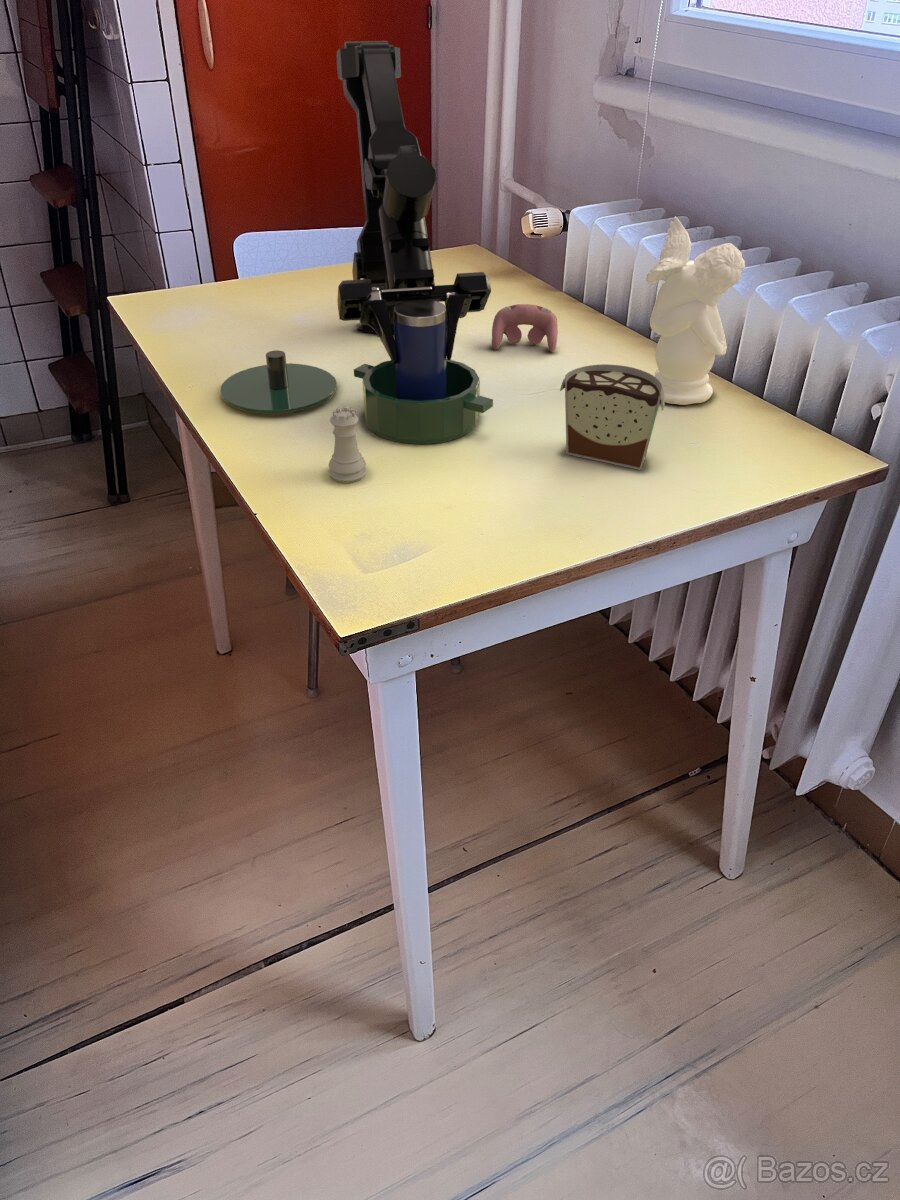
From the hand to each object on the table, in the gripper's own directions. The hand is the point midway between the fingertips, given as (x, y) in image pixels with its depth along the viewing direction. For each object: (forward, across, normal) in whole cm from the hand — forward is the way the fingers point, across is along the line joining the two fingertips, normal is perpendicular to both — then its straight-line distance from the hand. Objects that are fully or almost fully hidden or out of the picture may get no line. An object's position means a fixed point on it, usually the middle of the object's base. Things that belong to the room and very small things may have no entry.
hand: (422, 361), depth 116 cm
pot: (+5, 0, -7) cm, 8 cm away
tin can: (+4, 0, -6) cm, 7 cm away
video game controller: (-10, -20, -23) cm, 32 cm away
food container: (+15, -21, +3) cm, 26 cm away
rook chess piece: (+14, +11, +3) cm, 18 cm away
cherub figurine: (+5, -34, -8) cm, 35 cm away
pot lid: (-4, +18, -14) cm, 23 cm away
